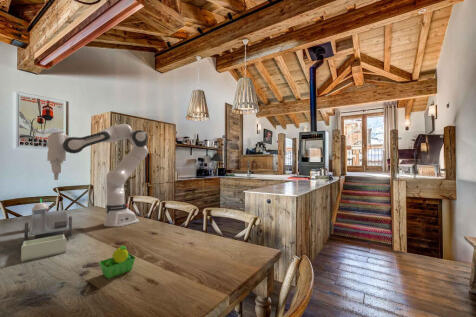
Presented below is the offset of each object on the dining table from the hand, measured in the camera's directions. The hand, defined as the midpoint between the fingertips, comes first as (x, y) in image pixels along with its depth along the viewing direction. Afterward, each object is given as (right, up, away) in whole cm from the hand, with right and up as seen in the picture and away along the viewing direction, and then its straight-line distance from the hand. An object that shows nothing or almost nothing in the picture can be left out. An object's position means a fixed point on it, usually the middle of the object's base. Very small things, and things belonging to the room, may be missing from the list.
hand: (56, 179), depth 136 cm
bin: (+20, -33, -30) cm, 48 cm away
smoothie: (-16, -33, +7) cm, 38 cm away
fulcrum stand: (+6, -33, -11) cm, 35 cm away
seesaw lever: (+6, -23, -11) cm, 26 cm away
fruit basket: (+67, -33, -49) cm, 89 cm away
